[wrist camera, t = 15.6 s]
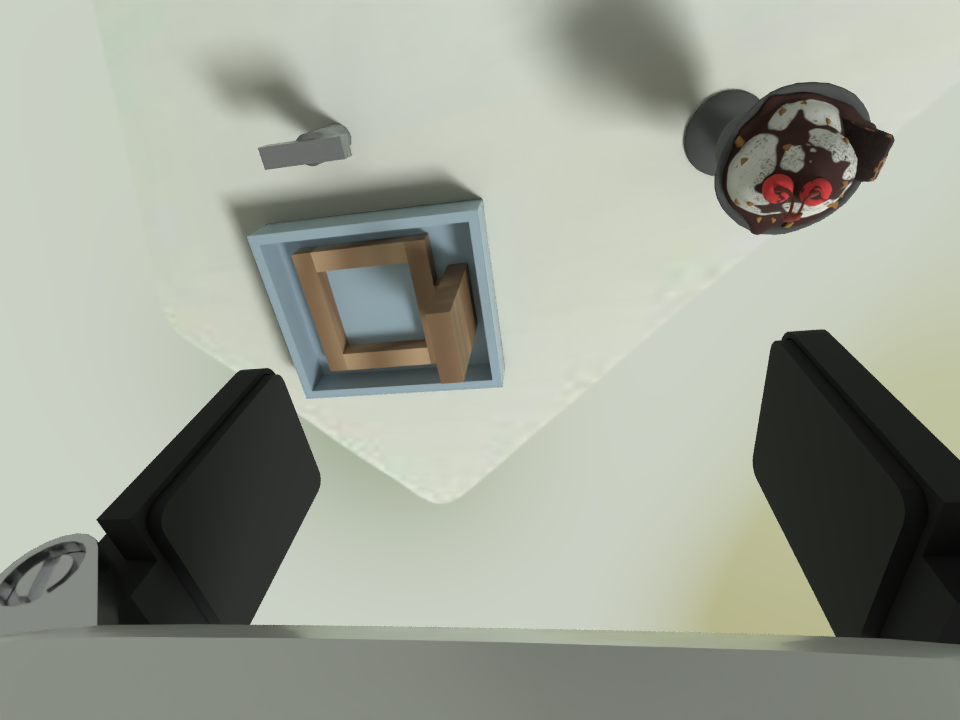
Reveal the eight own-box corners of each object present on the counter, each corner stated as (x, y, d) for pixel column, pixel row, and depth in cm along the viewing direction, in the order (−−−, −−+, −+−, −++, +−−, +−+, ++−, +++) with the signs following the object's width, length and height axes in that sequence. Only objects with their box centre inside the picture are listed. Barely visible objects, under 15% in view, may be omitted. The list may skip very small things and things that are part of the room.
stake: (299, 129, 35) (256, 142, 29) (369, 118, 34) (338, 130, 29) (307, 157, 36) (266, 174, 30) (376, 147, 35) (346, 164, 30)
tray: (266, 224, 38) (246, 236, 36) (482, 198, 36) (477, 209, 33) (320, 379, 45) (306, 398, 43) (504, 367, 43) (502, 387, 40)
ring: (462, 229, 37) (442, 272, 29) (482, 350, 42) (469, 413, 34) (299, 248, 39) (243, 293, 31) (337, 362, 44) (296, 423, 36)
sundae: (651, 169, 34) (717, 239, 21) (707, 56, 30) (829, 59, 18) (741, 204, 34) (859, 295, 22) (806, 99, 31) (994, 130, 18)
